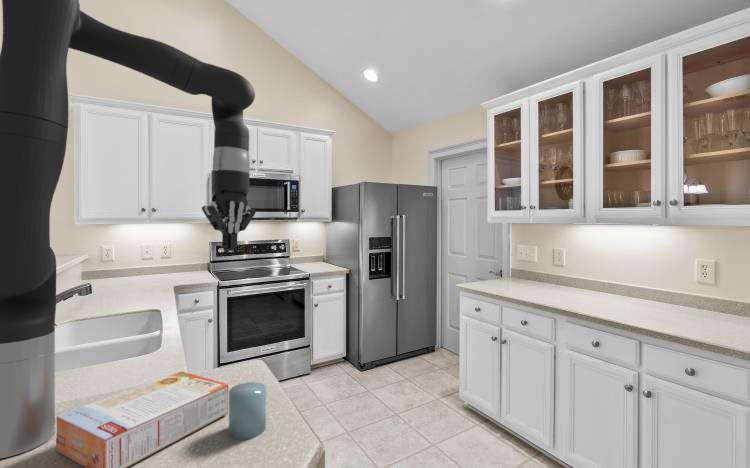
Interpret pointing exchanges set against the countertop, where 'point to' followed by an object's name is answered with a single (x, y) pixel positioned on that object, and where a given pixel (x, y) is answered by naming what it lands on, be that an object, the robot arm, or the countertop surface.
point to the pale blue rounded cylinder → (247, 410)
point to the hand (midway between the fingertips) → (229, 250)
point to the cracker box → (140, 420)
